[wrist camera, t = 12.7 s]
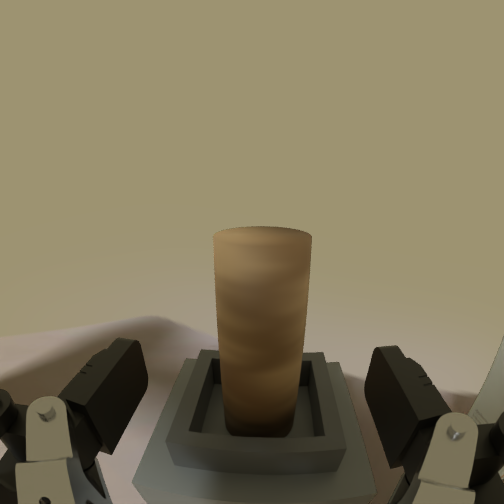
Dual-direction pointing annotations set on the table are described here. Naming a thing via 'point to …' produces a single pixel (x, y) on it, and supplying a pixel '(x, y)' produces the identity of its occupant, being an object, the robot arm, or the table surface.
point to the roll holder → (256, 445)
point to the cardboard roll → (261, 325)
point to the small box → (491, 396)
